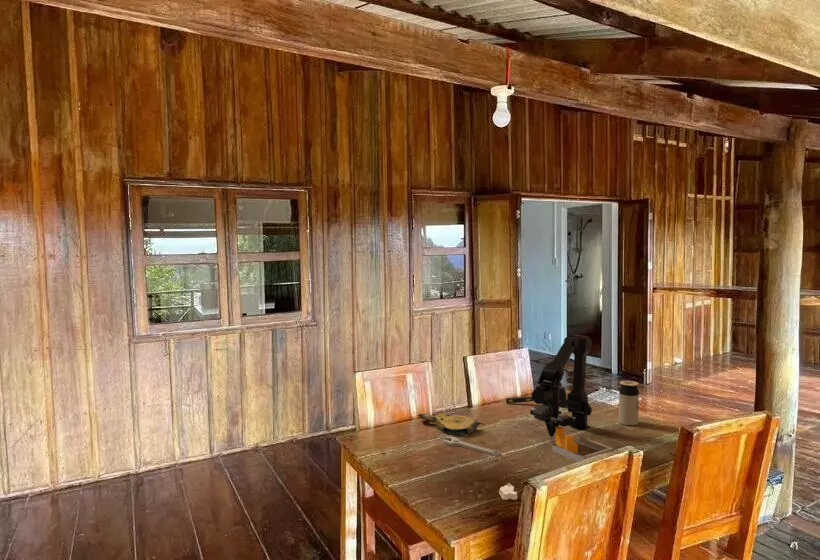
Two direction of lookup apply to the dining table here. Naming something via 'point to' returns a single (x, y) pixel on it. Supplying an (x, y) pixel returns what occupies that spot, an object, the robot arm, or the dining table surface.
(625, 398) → the travel mug
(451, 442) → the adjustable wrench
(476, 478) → the dining table surface
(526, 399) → the mallet
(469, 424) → the pulley block
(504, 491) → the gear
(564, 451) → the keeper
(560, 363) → the robot arm
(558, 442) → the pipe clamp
